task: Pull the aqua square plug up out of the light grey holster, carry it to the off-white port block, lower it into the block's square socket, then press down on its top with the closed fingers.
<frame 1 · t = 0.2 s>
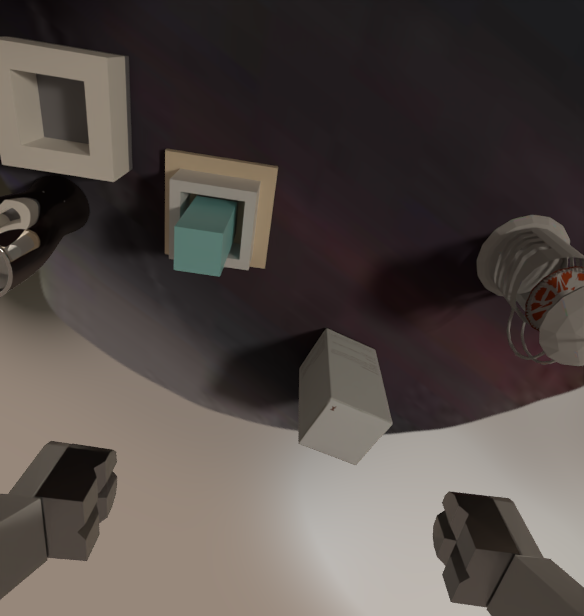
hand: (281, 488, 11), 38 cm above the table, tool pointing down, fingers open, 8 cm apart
port block: (77, 107, 42), on the table
holster: (219, 210, 47), on the table
beer glass: (61, 203, 47), on the table
supplement box: (336, 358, 57), on the table
plug: (218, 213, 46), point 1 cm above the table, touching holster
french press: (517, 264, 49), on the table
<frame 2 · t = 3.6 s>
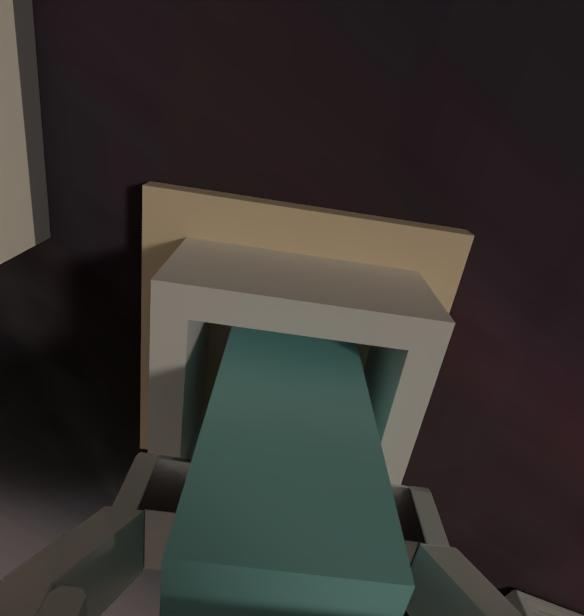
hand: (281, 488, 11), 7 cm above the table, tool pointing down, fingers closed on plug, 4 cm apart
holster: (287, 344, 18), on the table
plug: (287, 354, 17), point 1 cm above the table, touching gripper, holster
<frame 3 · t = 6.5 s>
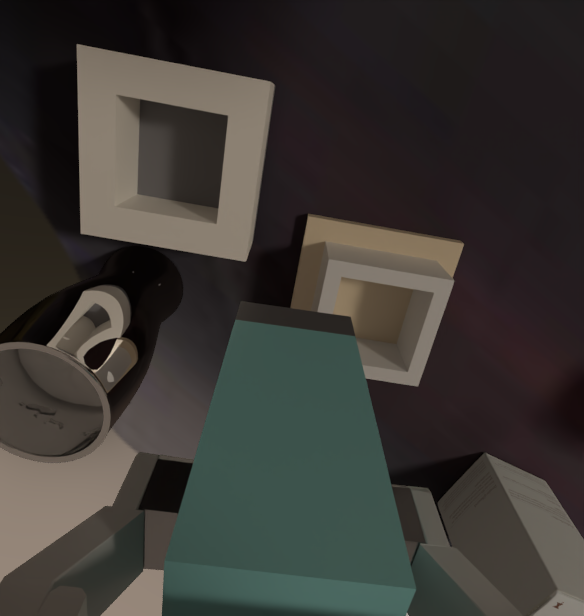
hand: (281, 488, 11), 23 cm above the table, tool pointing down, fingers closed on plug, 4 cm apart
port block: (189, 154, 30), on the table
holster: (366, 298, 34), on the table
beer glass: (144, 283, 34), on the table
supplement box: (489, 490, 42), on the table
plug: (288, 356, 17), point 16 cm above the table, touching gripper
when the fingers open (9 cm above the table, at t = 9.4 s): plug drops 2 cm, resting on port block.
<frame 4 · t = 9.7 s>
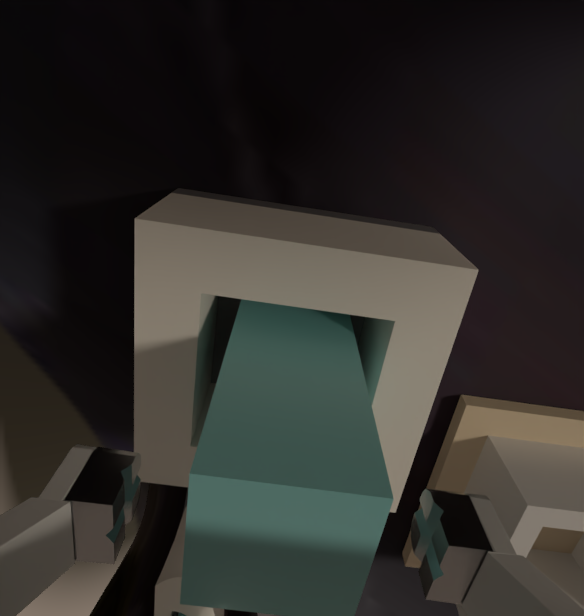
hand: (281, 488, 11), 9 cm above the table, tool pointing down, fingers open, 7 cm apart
port block: (288, 321, 19), on the table
holster: (531, 494, 23), on the table
beer glass: (211, 479, 24), on the table
plug: (288, 334, 19), point 1 cm above the table, touching port block
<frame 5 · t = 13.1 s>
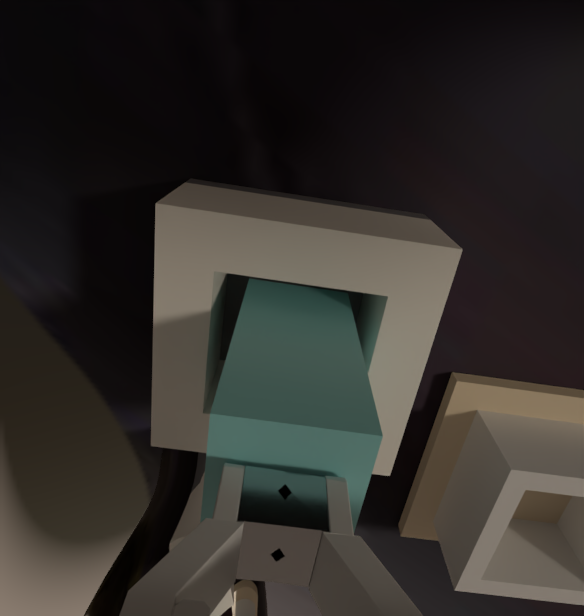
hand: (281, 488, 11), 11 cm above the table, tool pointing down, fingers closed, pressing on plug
port block: (291, 303, 21), on the table
holster: (518, 467, 25), on the table
beer glass: (219, 453, 25), on the table
plug: (292, 314, 20), point 1 cm above the table, touching gripper, port block
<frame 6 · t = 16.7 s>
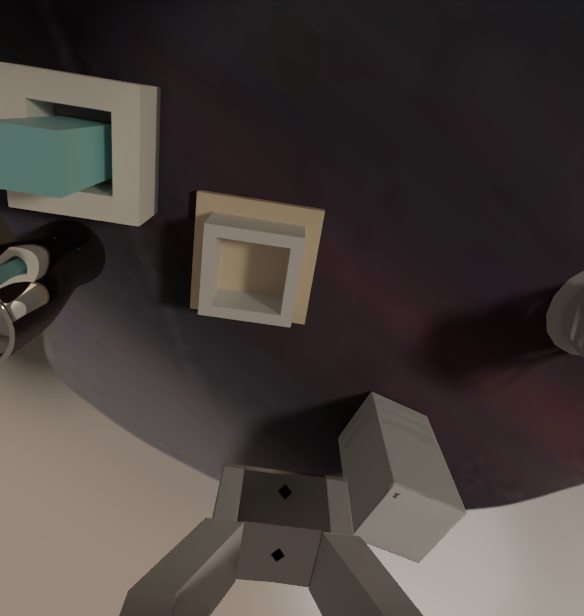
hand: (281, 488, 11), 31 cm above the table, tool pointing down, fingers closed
port block: (98, 143, 37), on the table
holster: (254, 259, 41), on the table
beer glass: (73, 251, 41), on the table
supplement box: (381, 425, 49), on the table
plug: (94, 145, 36), point 1 cm above the table, touching port block
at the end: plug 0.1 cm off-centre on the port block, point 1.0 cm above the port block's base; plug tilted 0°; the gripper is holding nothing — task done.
